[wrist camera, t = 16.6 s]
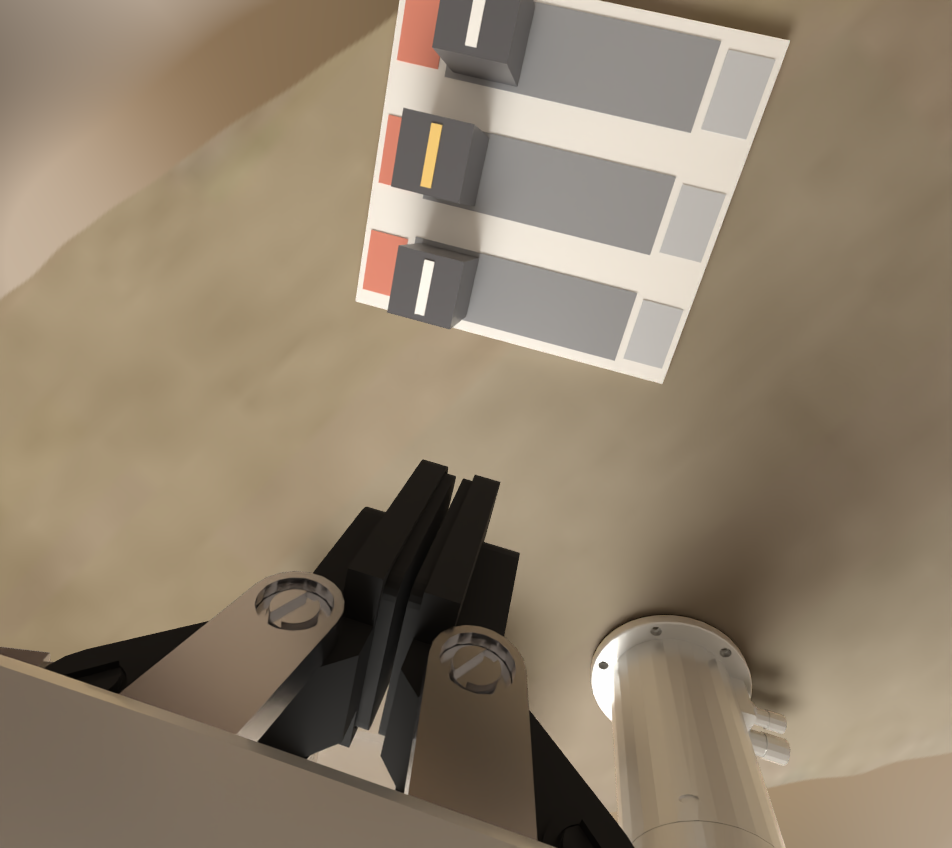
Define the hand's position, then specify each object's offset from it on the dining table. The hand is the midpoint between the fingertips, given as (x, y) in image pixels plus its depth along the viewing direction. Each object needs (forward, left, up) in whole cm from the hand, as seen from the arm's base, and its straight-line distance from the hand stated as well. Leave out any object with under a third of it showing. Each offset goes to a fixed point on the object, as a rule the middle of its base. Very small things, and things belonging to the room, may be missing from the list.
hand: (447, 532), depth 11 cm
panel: (+2, -8, -29) cm, 30 cm away
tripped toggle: (+8, -8, -28) cm, 30 cm away
